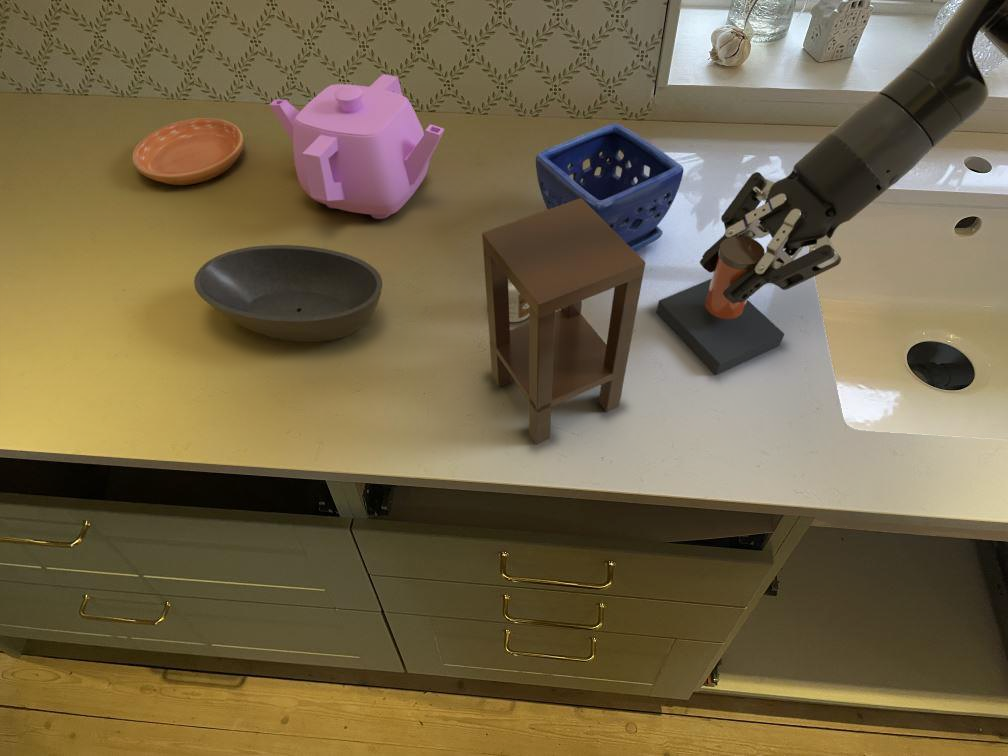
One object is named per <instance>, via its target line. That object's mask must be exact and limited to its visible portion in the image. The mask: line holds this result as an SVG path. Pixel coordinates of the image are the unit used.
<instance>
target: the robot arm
mask: <svg viewBox="0 0 1008 756" xmlns="http://www.w3.org/2000/svg"><path fill="white" fill-rule="evenodd" d="M979 32H980V33H982V34H983V36H984V37H985V38H987V39H988V40H989V42H990V43H991V44H993V46H994V47H995V48H997V50H998V51H1000V53H1001V54H1002V55H1003V56H1005V58H1006V59H1007V60H1008V0H963V1H962V2H961V3H960V5H959V7H958V8H957V9H956V11H955V12H954V13H953V15H952V17H951V18H949V20H948V22H947V23H946V25H945V26H944V27H943V28H942V29H941V31H940V32H939V33H938V35H937V36H936V37H935V38H934V39H933V40H932V42H931V43H930V44H929V45H928V46H927V47H926V48H925V49H924V50H923V52H921V54H920V55H918V57H916V58H915V59H914V60H913V61H912V62H911V63H910V64H909V65H908V66H907V67H906V68H905V69H904V70H902V71H901V72H900V73H899V74H898V75H897V76H896V77H894V79H892V80H891V81H890V82H889V83H888V84H887V85H885V87H883V88H882V89H881V90H880V91H879V92H878V93H876V95H874V96H873V97H872V98H870V99H869V100H868V101H867V102H865V103H864V104H863V105H861V106H859V107H858V108H857V109H856V110H854V111H853V112H852V113H851V114H849V115H848V116H847V117H846V118H845V119H844V120H843V121H842V122H841V123H839V124H838V125H837V126H836V127H835V128H834V129H833V130H831V132H829V133H828V134H827V135H826V136H825V137H824V138H823V139H822V140H821V141H820V142H818V143H817V144H816V145H815V146H813V148H811V149H810V151H808V152H807V153H806V154H805V155H804V156H803V157H802V158H801V159H800V160H798V161H797V162H796V163H795V164H794V166H793V168H792V170H791V172H790V173H789V174H788V175H787V176H785V177H784V178H782V179H779V180H777V181H775V182H774V181H772V180H769V179H768V178H765V177H764V176H763V174H762V173H760V172H759V171H755V172H753V173H752V174H751V175H750V176H749V177H748V179H747V181H745V183H744V185H743V186H742V187H741V189H740V190H739V192H738V193H737V194H736V196H735V197H734V199H733V200H732V201H731V202H730V204H729V205H728V207H727V208H726V210H725V211H724V212H723V213H722V215H721V217H720V220H721V222H722V223H723V225H724V229H725V230H724V234H723V235H722V236H721V238H719V239H717V241H715V242H714V244H712V246H710V247H709V248H708V249H707V250H706V251H705V252H704V253H703V254H702V256H701V259H700V260H699V264H700V265H701V267H702V268H703V269H704V270H705V271H707V272H708V273H710V274H711V273H714V269H715V266H716V262H717V259H718V255H719V254H718V252H719V248H720V245H721V243H722V242H723V241H724V240H725V239H727V238H729V237H733V236H744V237H749V238H752V239H754V240H756V239H762V238H765V237H767V236H769V235H770V237H771V238H772V239H770V241H769V242H768V244H767V246H766V251H765V254H764V256H763V257H762V258H761V260H760V261H759V262H758V264H757V265H756V267H755V270H752V269H749V270H748V271H747V272H746V273H744V274H743V275H742V276H741V277H740V278H738V279H737V280H736V281H735V282H734V283H733V284H731V285H730V286H729V287H728V288H727V289H726V290H724V292H723V295H724V296H725V297H726V299H727V300H729V301H730V302H732V303H737V302H740V303H741V302H743V301H745V300H747V299H748V300H749V298H750V297H751V296H753V295H754V294H755V293H756V292H758V291H759V290H760V289H761V288H763V287H764V286H766V285H767V284H773V285H774V286H777V287H778V288H780V289H781V290H783V291H786V290H787V291H788V290H789V289H791V288H793V287H796V286H798V285H799V284H802V283H803V282H806V281H808V280H811V279H812V278H814V277H816V276H819V275H820V274H822V273H824V272H828V271H829V270H831V269H833V268H835V267H837V266H839V265H840V264H841V261H842V257H841V256H840V255H839V253H838V252H837V250H835V248H834V245H833V243H832V240H831V238H832V237H833V236H834V233H835V232H836V231H837V228H838V227H840V225H842V224H844V223H846V222H849V221H851V220H852V219H853V218H854V217H856V216H857V215H858V214H860V213H861V212H862V211H863V210H864V209H865V208H866V207H868V206H869V205H870V204H871V203H873V202H874V201H875V200H876V199H878V198H879V197H880V196H881V195H882V194H883V193H885V192H886V191H887V190H888V189H890V187H892V186H893V185H895V184H897V182H899V181H900V179H902V178H903V177H904V176H906V175H907V174H908V173H909V172H910V171H911V170H913V169H914V167H916V166H917V165H918V164H919V162H920V161H921V160H922V159H924V157H925V156H926V155H927V154H929V153H930V152H931V151H932V150H933V149H934V148H935V147H936V146H938V144H940V143H941V142H942V141H943V140H945V139H946V138H947V137H948V136H950V134H952V133H953V132H954V131H956V130H957V129H958V128H959V127H961V126H962V125H963V124H964V123H965V122H967V121H968V120H970V118H971V117H973V116H974V115H975V114H976V113H978V112H979V110H980V109H981V108H983V107H984V105H985V104H986V102H987V101H988V98H989V94H990V93H989V86H988V84H987V81H986V79H985V77H984V75H983V72H982V71H981V69H980V67H979V65H978V64H977V61H976V59H975V56H974V45H975V40H976V37H977V36H978V34H979ZM762 201H763V202H764V204H762V205H760V203H762ZM759 205H760V206H759ZM758 206H759V207H758ZM809 246H810V248H809V250H808V252H807V253H806V254H804V255H801V256H800V257H797V256H798V255H799V254H800V252H801V251H802V249H803V248H804V247H809ZM796 257H797V258H796Z"/></svg>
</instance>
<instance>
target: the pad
mask: <svg viewBox="0 0 1008 756" xmlns="http://www.w3.org/2000/svg"><path fill="white" fill-rule="evenodd" d="M711 280H712V278H710V279H707V280H705V281H703V282H702V281H701V283H698V284H696V285H693V286H690V287H689V288H686V289H684V290H681V291H678V292H676V293H674V294H671V295H669V296H667V297H664V298H662V299H659V300H658V302H657V307H656V314H657V315H658V316H659V318H661V319H662V320H663V322H665V323H666V324H667V326H668V327H669V328H670V329H671V330H672V331H673V332H674V333H675V334H676V335H677V336H678V337H679V338H680V339H681V340H682V341H683V342H684V343H685V345H686V346H687V347H688V348H689V349H690V350H691V351H692V352H693V353H694V354H695V355H696V356H697V357H698V359H700V361H702V362H703V364H704V365H705V366H706V367H707V368H708V369H709V370H710V371H711V373H713V374H714V376H718V375H720V374H723V373H724V372H726V371H728V370H731V369H733V368H735V367H737V366H739V365H741V364H743V363H746V362H747V361H750V360H752V359H754V358H756V357H758V356H760V355H763V354H765V353H767V352H769V351H772V350H773V349H775V348H778V347H780V345H781V343H782V341H783V340H784V336H785V333H784V332H783V331H782V330H781V329H780V328H779V327H777V325H776V324H774V323H773V322H772V321H771V320H770V319H769V318H768V317H767V316H765V314H764V313H763V312H761V311H760V310H759V309H758V307H756V306H755V305H754V304H753V303H751V301H749V299H748V300H747V302H746V305H745V308H744V311H743V313H742V314H741V315H740V316H738V317H736V318H733V319H722V318H718V317H716V316H714V315H712V314H711V313H710V312H709V311H708V310H707V308H706V306H705V301H706V297H707V294H708V290H709V287H710V283H711Z"/></svg>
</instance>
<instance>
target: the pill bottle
mask: <svg viewBox="0 0 1008 756" xmlns="http://www.w3.org/2000/svg"><path fill="white" fill-rule="evenodd" d="M508 293H509V322H510V323H518V322H522V321H524V320H526V319H529V305H528V304H527V302H526V301H525V300H524V298H523V297H522V296H521V294H520V293H519V292H518V291H517V289H516V288H515V287H514V285H513V284H512V283H511V282H510V280H509V279H508Z"/></svg>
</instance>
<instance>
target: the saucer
mask: <svg viewBox="0 0 1008 756" xmlns="http://www.w3.org/2000/svg"><path fill="white" fill-rule="evenodd" d="M244 144H245V143H244V136H243V133H242V131H241V130H240V128H239V127H238V126H237V125H235V124H234V123H232V122H230V121H227V120H224V119H220V118H214V117H213V118H211V117H198V118H190V119H185V120H180V121H175V122H173V123H170V124H167V125H164V126H162V127H160V128H158V129H156V130H154V131H153V132H151V133H148V135H146V136H145V137H143V138H142V139H141V140H140V141H139V143H138V144H137V145H136V146H135V147H134V149H133V152H132V156H131V157H132V158H131V159H132V163H133V165H134V167H135V168H136V169H137V171H138V172H139V173H140V174H141V175H143V176H145V177H147V178H148V179H151V180H153V181H156V182H158V183H163V184H167V185H173V186H189V185H195V184H199V183H200V184H201V183H204V182H207V181H210V180H212V179H215V178H217V177H219V176H221V175H222V174H224V173H225V172H227V171H228V170H229V169H230V168H231V167H232V166H233V165H234V164H235V162H236V161H237V159H239V157H240V155H241V153H242V151H243V148H244Z"/></svg>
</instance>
